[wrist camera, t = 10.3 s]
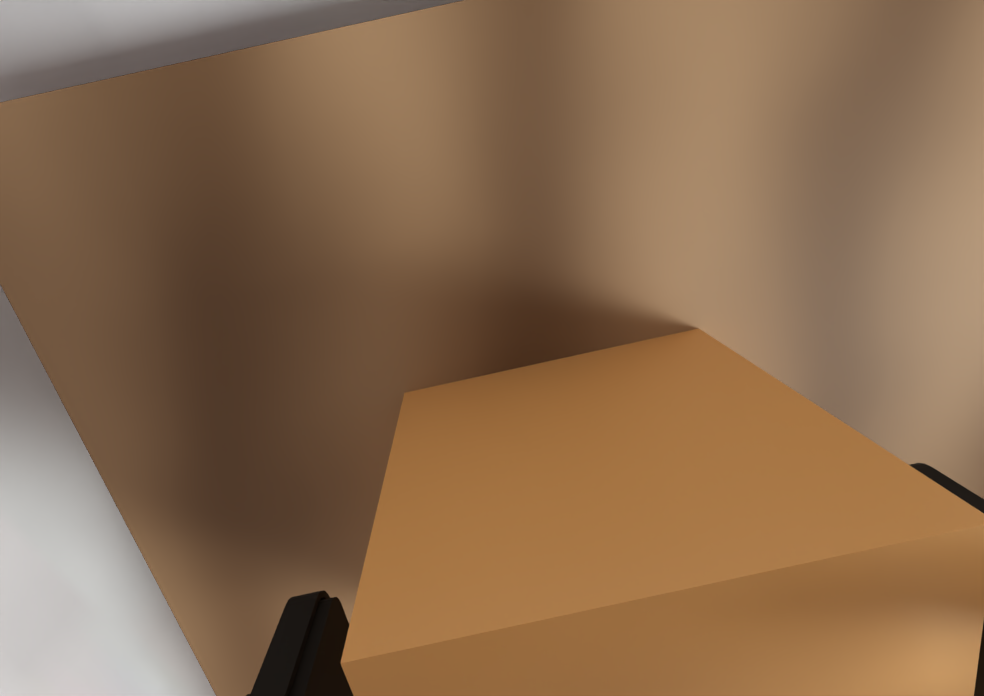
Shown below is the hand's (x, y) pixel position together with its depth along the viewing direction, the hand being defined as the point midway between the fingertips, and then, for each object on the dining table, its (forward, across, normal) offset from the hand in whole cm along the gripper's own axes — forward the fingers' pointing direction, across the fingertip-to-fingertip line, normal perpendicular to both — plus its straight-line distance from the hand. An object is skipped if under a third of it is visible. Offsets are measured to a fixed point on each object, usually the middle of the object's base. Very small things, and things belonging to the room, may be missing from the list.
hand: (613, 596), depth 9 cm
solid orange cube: (+3, 0, 0) cm, 3 cm away
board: (+5, 0, 0) cm, 5 cm away
